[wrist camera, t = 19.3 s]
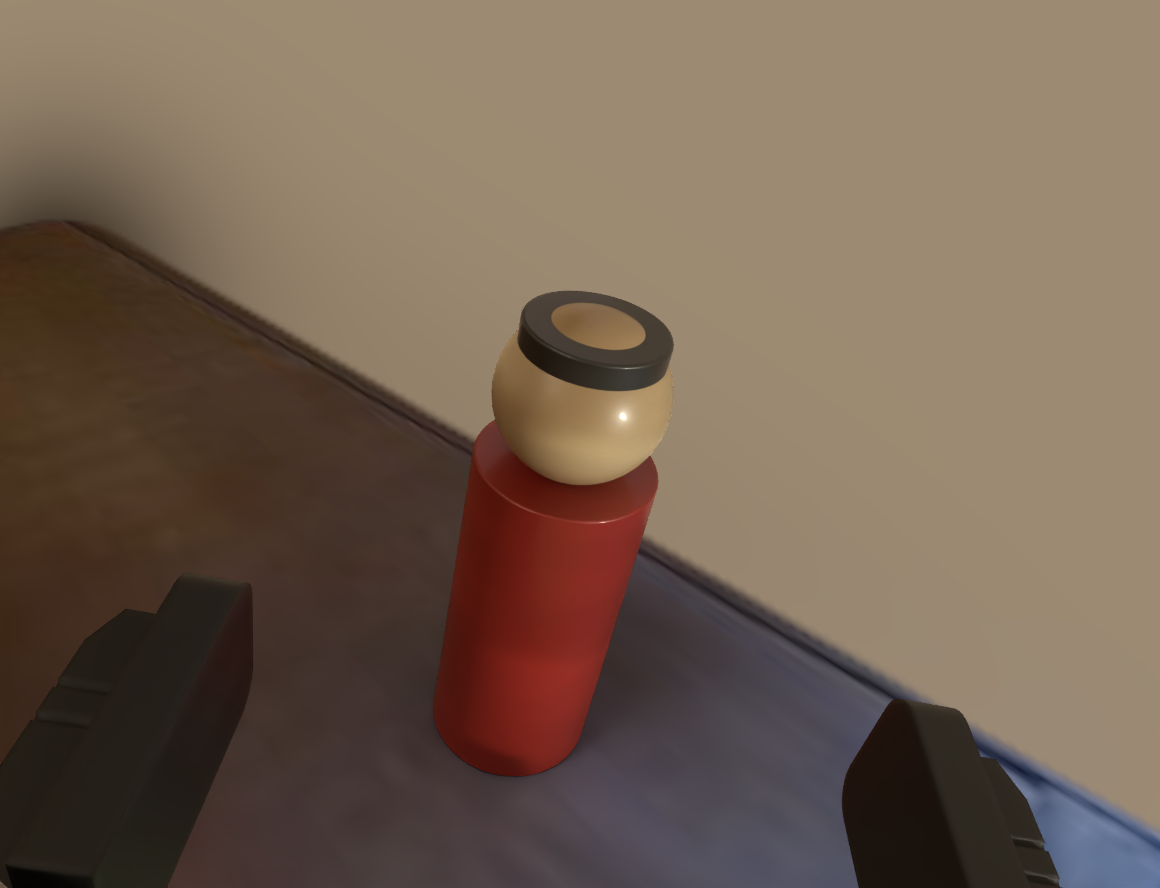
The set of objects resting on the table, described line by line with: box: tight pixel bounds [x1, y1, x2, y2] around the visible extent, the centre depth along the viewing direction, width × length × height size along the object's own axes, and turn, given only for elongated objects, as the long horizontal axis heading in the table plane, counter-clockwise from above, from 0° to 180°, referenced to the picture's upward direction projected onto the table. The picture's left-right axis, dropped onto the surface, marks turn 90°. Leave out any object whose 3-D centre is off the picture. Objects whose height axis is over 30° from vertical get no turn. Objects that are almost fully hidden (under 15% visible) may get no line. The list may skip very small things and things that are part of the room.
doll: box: [433, 291, 674, 776], centre depth 24 cm, size 5×5×14 cm
